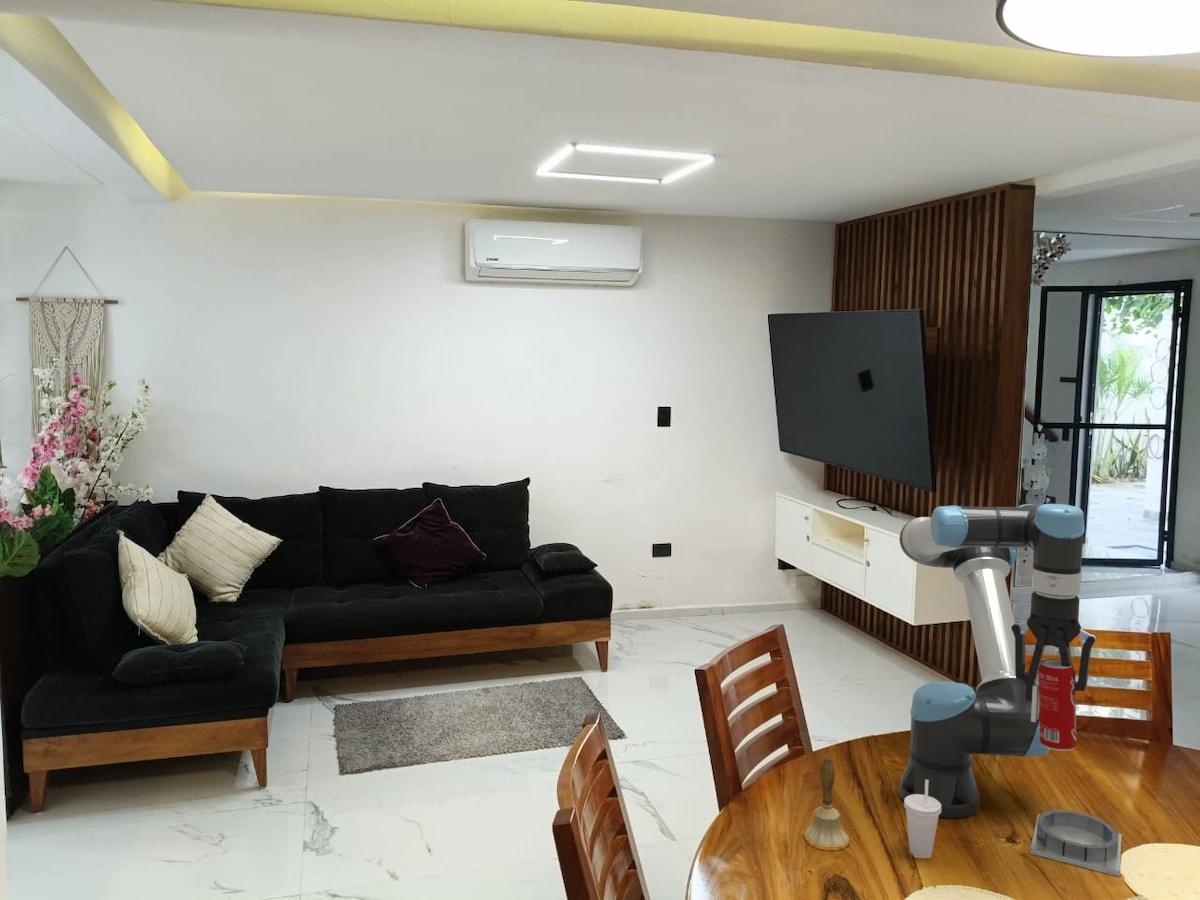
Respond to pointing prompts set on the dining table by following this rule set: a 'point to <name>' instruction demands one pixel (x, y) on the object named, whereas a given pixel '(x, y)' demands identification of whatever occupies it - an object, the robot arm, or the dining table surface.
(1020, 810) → the dining table surface
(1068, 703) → the beverage can
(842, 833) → the hand bell
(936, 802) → the smoothie
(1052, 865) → the dining table surface
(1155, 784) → the dining table surface
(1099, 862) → the collar
